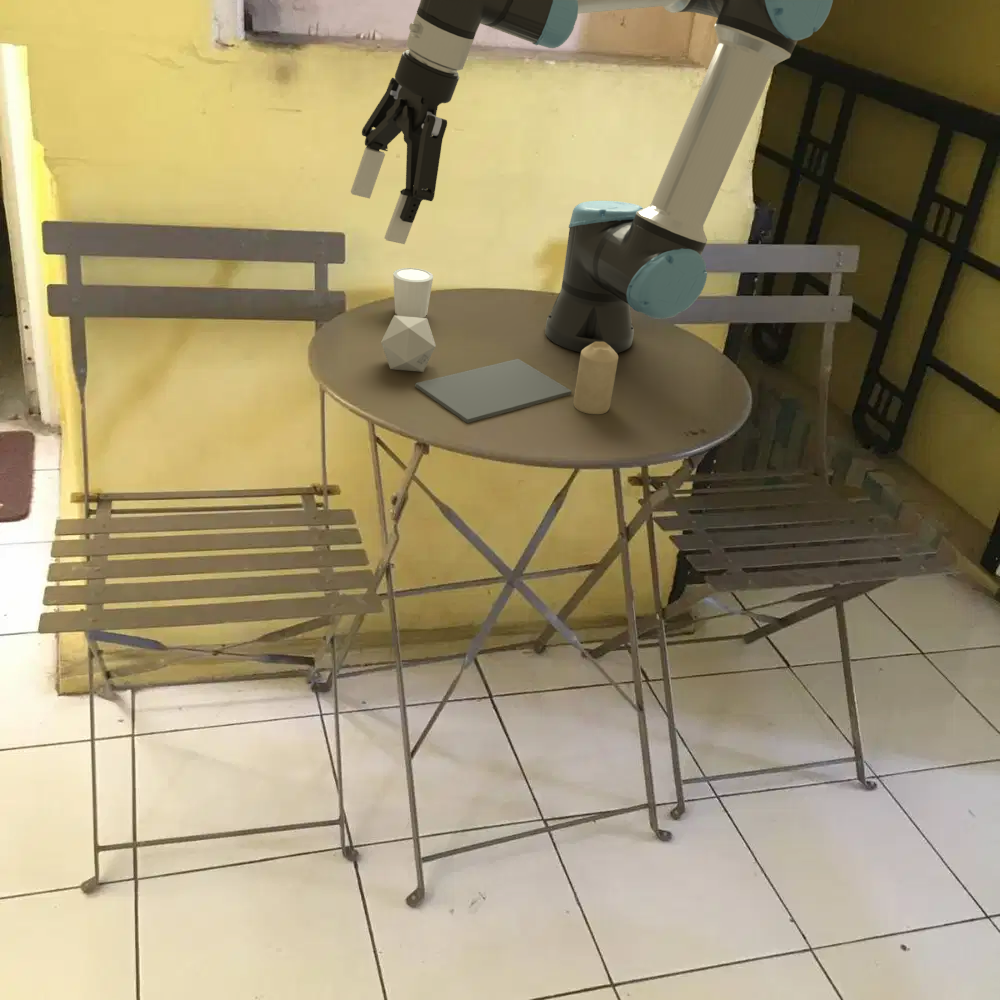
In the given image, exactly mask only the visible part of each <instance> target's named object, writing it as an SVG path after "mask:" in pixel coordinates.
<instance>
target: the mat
mask: <svg viewBox="0 0 1000 1000" xmlns="http://www.w3.org/2000/svg"><path fill="white" fill-rule="evenodd" d="M415 388H417V389H418V390H419V391H421V392H422V393H423V394H425V395H426V396H427V397H428V398H431V399H432V400H433V401H435V402H436V403H438V404H439V405H441V406H442V407H443V408H445V409H446V410H448V411H449V412H451V413H452V414H454V416H456V417H458V418H459V419H461V420H463V421H464V422H465V423H467V424H469V423H473V422H475V421H480V420H485V419H487V418H490V417H496V416H498V415H501V414H502V415H503V414H505V413H509V412H512V411H516V410H519V409H523V408H527V407H531V406H534V405H538V404H542V403H544V402H548V401H553V400H556V399H559V398H563V397H566V396H570V395H572V392H573V390H571V389H569V388H568V387H566V386H565V385H563V384H561V383H560V382H558V381H556V380H555V379H553V378H551V377H550V376H548V375H546V374H545V373H543V372H541V371H540V370H538V369H536V368H535V367H533V366H531V365H529V364H528V363H526V362H524V361H523V360H521V359H520V358H515V359H511V360H507V361H502V362H499V363H494V364H490V365H486V366H481V367H477V368H473V369H469V370H464V371H461V372H457V373H452V374H448V375H447V374H446V375H444V376H439V377H435V378H431V379H428V380H423V381H419V382H418V381H417V382H416V383H415Z"/></svg>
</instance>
